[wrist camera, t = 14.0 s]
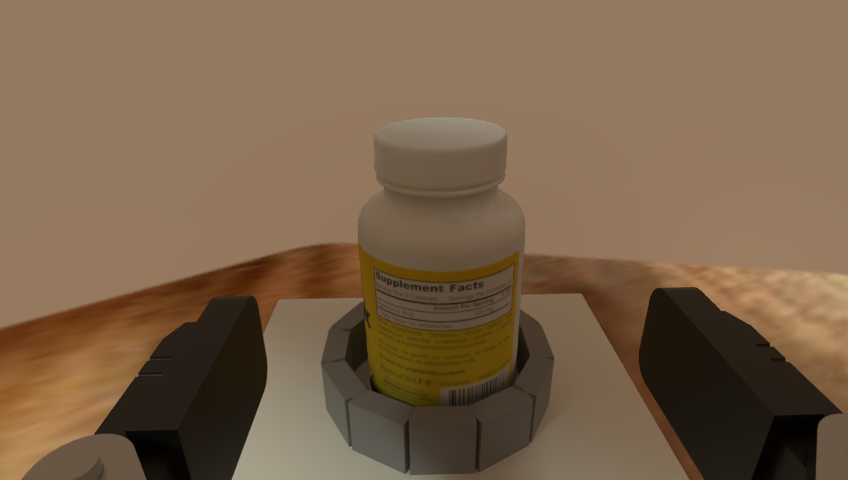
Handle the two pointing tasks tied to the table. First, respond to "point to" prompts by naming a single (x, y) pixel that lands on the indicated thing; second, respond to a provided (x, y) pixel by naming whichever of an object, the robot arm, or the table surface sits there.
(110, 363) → the table surface
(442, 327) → the supplement bottle
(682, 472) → the socket plate
